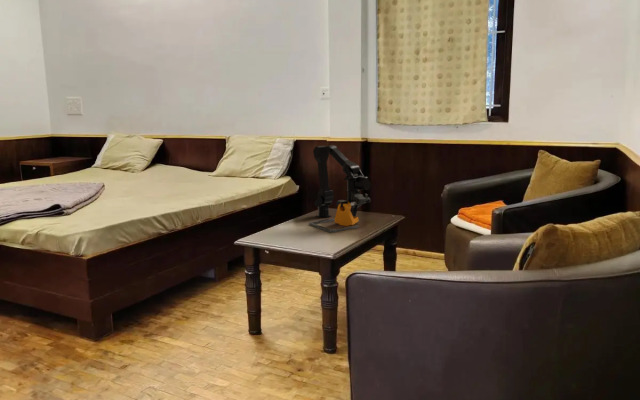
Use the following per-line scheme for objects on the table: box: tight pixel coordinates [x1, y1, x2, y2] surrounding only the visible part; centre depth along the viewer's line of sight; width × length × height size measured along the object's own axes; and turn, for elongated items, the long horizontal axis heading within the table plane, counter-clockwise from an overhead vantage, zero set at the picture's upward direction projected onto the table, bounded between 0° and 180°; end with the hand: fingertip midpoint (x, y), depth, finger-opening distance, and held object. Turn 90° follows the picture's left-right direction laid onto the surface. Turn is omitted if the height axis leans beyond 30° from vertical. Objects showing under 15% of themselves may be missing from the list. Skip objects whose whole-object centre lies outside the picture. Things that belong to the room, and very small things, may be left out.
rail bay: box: [308, 217, 360, 234], centre depth 265 cm, size 21×18×1 cm
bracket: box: [334, 200, 359, 227], centre depth 267 cm, size 11×7×12 cm, turn 57°
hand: (353, 217), depth 271 cm, fingers closed, pressing on bracket
